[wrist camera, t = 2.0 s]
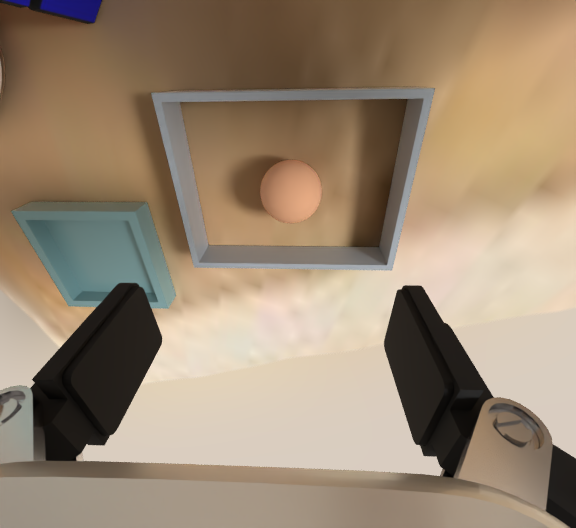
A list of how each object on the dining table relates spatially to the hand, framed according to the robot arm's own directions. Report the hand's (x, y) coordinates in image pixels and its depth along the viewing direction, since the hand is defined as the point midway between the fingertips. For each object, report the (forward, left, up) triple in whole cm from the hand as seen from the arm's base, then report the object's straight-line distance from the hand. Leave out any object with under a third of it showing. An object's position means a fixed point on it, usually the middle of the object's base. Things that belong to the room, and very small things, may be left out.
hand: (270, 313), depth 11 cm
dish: (+18, +7, -15) cm, 24 cm away
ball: (0, 0, -15) cm, 15 cm away
